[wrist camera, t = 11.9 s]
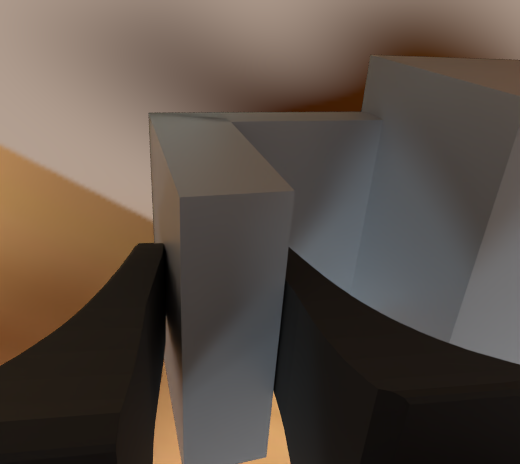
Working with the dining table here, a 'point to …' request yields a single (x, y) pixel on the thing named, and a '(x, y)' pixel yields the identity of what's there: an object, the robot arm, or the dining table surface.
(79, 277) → the dining table surface
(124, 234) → the dining table surface
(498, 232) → the grey stepped block
